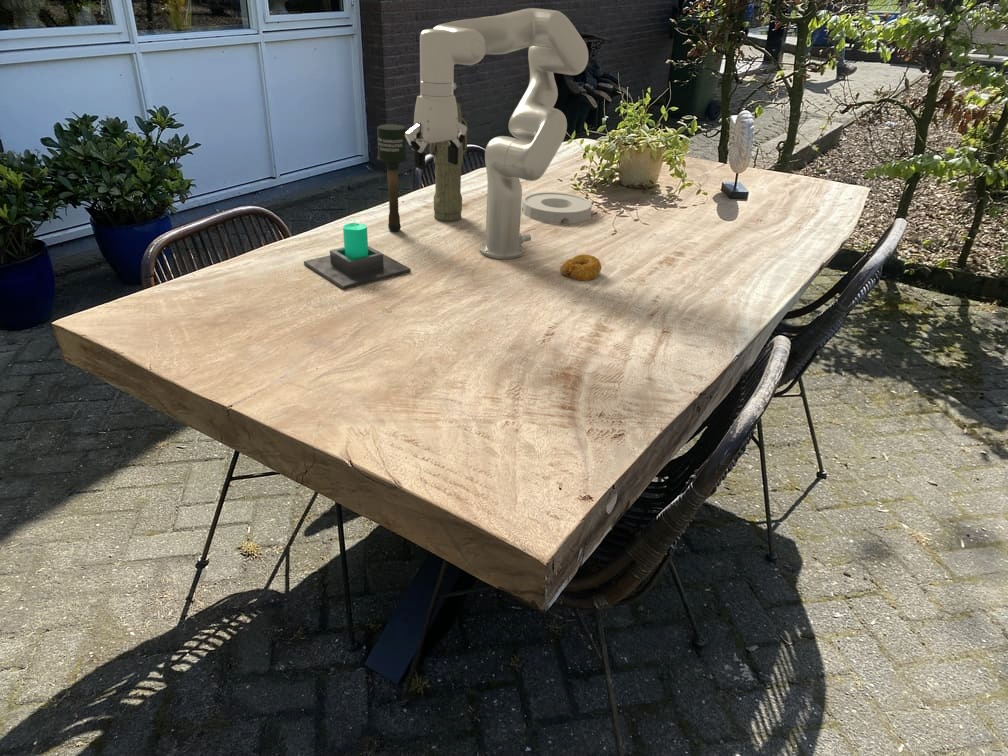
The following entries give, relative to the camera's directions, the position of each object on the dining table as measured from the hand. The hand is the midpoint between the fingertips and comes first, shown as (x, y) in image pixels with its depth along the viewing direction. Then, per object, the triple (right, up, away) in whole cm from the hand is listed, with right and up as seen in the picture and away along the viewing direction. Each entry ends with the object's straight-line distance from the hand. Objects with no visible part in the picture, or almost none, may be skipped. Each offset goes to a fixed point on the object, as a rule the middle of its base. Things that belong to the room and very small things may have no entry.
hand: (436, 166), depth 169 cm
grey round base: (+33, +4, +67) cm, 75 cm away
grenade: (-17, -6, +44) cm, 47 cm away
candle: (-22, -21, +16) cm, 35 cm away
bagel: (+36, -23, +21) cm, 48 cm away
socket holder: (-22, -22, +16) cm, 35 cm away
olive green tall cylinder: (-2, 0, +57) cm, 57 cm away
